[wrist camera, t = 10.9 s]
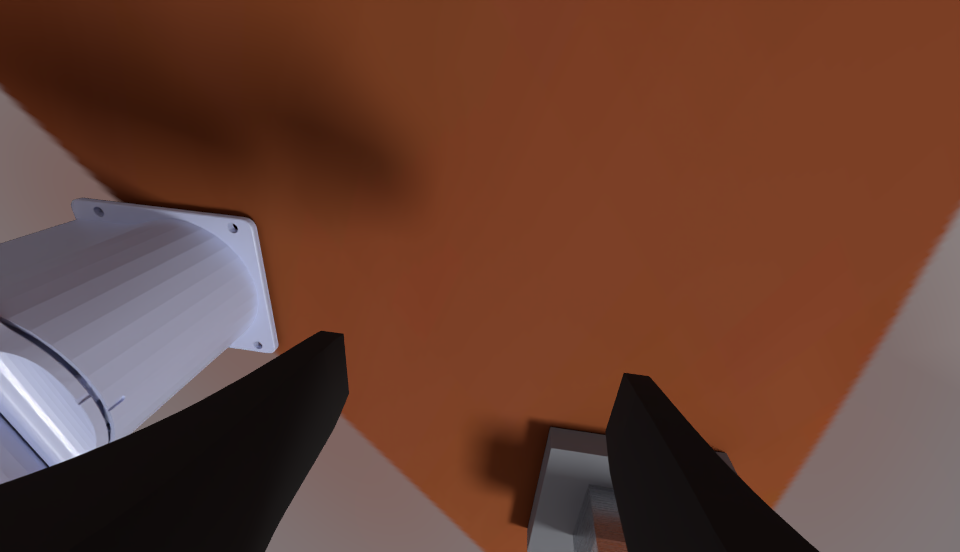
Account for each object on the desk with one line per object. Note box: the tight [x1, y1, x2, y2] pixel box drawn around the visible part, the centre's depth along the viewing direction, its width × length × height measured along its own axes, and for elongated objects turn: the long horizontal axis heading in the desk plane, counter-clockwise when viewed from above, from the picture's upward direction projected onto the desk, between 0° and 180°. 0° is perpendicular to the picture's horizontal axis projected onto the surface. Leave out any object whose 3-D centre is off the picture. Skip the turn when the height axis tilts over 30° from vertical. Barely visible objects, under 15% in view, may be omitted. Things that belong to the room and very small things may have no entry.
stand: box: [527, 427, 737, 552], centre depth 25 cm, size 10×10×2 cm
